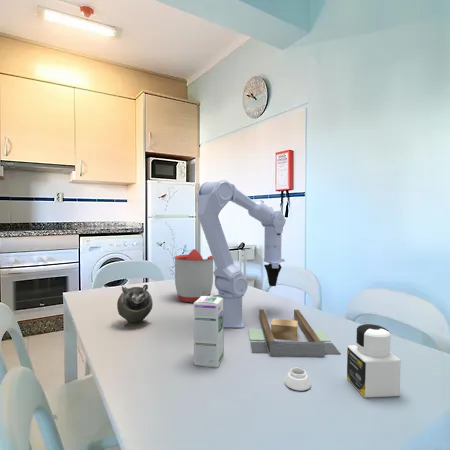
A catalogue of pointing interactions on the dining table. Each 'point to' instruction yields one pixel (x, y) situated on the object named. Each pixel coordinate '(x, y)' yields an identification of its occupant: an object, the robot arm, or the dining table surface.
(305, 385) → the lidless jar
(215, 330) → the syrup box
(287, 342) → the trap bay
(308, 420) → the dining table surface
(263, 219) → the robot arm
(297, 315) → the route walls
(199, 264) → the citrus juicer
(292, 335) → the oak block
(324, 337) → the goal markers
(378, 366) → the medicine bottle
